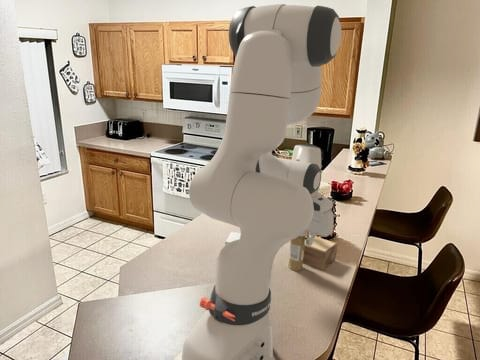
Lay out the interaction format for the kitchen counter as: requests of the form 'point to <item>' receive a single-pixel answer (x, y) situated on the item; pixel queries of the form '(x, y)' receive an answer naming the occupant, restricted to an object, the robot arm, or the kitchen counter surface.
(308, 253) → the tan cardboard box
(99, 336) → the kitchen counter surface
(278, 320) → the kitchen counter surface
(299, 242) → the sprinkles bottle
